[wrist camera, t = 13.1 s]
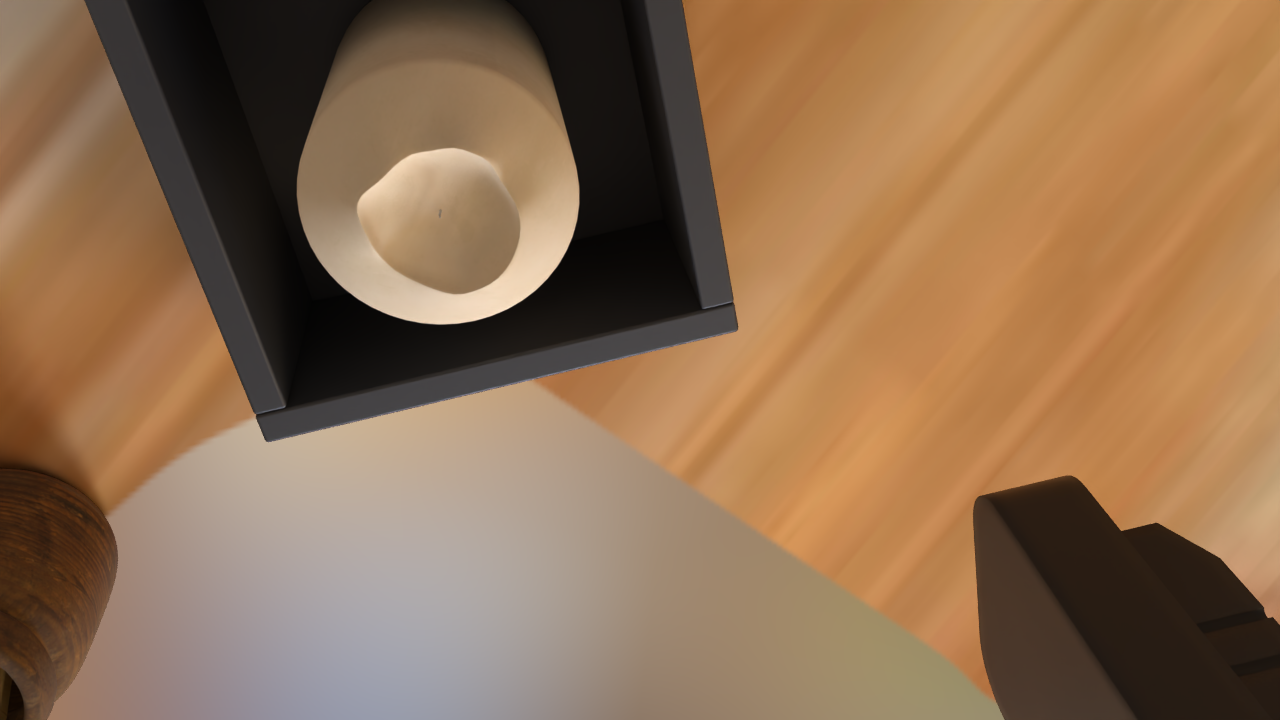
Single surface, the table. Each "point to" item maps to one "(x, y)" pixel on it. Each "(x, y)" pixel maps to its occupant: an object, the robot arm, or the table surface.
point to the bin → (331, 316)
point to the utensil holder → (48, 588)
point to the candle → (439, 162)
